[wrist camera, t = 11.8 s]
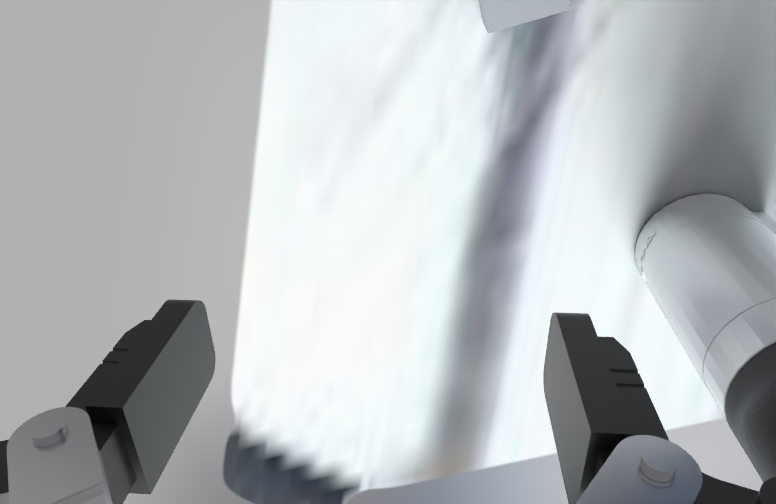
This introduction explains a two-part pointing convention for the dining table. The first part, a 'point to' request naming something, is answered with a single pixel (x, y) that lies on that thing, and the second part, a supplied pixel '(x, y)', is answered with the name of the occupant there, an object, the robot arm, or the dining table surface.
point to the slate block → (518, 11)
